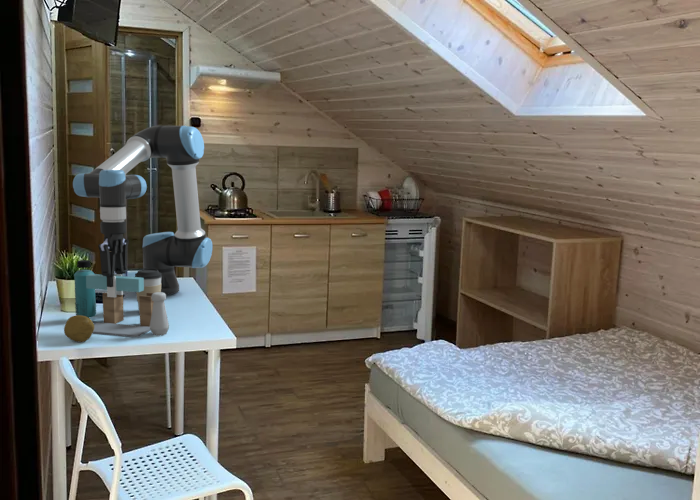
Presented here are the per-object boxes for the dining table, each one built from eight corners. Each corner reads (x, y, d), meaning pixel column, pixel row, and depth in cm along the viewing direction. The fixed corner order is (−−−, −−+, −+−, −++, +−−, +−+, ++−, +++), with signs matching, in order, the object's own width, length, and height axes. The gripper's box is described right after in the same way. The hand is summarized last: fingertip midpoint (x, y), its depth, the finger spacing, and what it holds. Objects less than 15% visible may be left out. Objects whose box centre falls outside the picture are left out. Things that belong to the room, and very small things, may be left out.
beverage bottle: (101, 319, 233) (98, 260, 230) (84, 323, 227) (82, 262, 224) (87, 316, 236) (85, 257, 233) (71, 320, 231) (68, 260, 228)
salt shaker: (146, 333, 218) (145, 292, 216) (162, 330, 222) (162, 289, 220) (155, 337, 214) (154, 295, 212) (172, 334, 218) (171, 293, 216)
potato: (63, 340, 209) (61, 314, 208) (89, 336, 213) (88, 311, 212) (68, 346, 203) (67, 319, 202) (96, 342, 208) (95, 316, 206)
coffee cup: (155, 316, 239) (154, 272, 237) (130, 314, 241) (129, 271, 238) (167, 309, 248) (166, 268, 245) (143, 308, 250) (142, 266, 247)
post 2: (148, 322, 231) (147, 292, 229) (159, 323, 230) (158, 293, 229) (140, 326, 226) (139, 296, 224) (151, 327, 225) (150, 296, 223)
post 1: (112, 319, 234) (111, 289, 232) (123, 320, 233) (122, 290, 231) (103, 323, 229) (102, 293, 227) (114, 324, 228) (113, 294, 226)
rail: (91, 286, 222) (91, 273, 221) (143, 290, 218) (143, 277, 217) (86, 288, 219) (85, 275, 218) (138, 292, 215) (138, 279, 214)
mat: (97, 323, 228) (97, 322, 228) (153, 328, 223) (153, 327, 223) (78, 331, 218) (78, 330, 218) (137, 337, 214) (137, 335, 214)
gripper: (116, 217, 224) (118, 289, 227) (86, 222, 208) (89, 300, 212) (137, 218, 222) (139, 291, 226) (109, 223, 207) (111, 302, 210)
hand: (115, 295), depth 219 cm, fingers closed on rail, 3 cm apart
